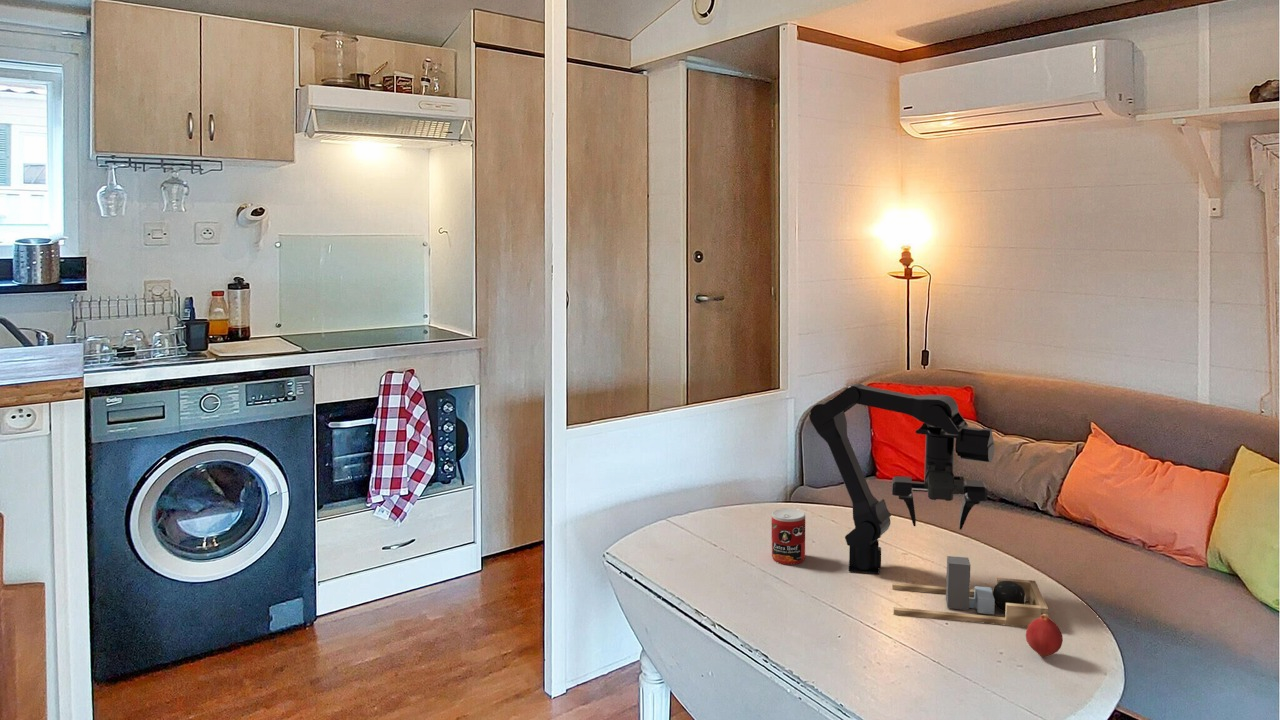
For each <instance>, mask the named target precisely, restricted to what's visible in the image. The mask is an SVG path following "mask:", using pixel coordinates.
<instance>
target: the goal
mask: <svg viewBox="0 0 1280 720" xmlns="http://www.w3.org/2000/svg"><path fill="white" fill-rule="evenodd" d="M1001 581H1013V582H1016V583H1017V584H1019V585H1020V586H1021V587H1022V588H1023V590H1024V592H1025V596H1026V600H1025V602H1029V604H1015V603H1006V610H1005V611H1004V612H1005V614H1004V615H1005V616H1004V617H1005V618H1006V625H1005V626H1009V625H1013V627H1019V626H1024V627H1023V628H1028V626H1029V624H1030V623H1031V622H1032V621H1034V620H1035V619H1037V618H1040V617H1041V615H1042V614H1046V615H1048V616H1049V608H1048V605H1047V604H1046V601H1045V599H1044V596H1043V595H1042V593H1041V591H1040V588H1039V587H1038V584H1037V582H1036V580H1031V579H1030V580H1029V579H1028V580H1027V579H1017V578H1005V577H996V584H997V583H999V582H1001Z"/></svg>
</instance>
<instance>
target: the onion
mask: <svg viewBox="0 0 1280 720" xmlns="http://www.w3.org/2000/svg"><path fill="white" fill-rule="evenodd" d="M1026 628H1027V629H1026V632H1025V639H1026V641H1027V643H1028V645H1029V647H1030V648H1031V649H1032V650H1033V651H1034V652H1036V653H1037V654H1038V656H1039V657H1041V658H1048V657H1050V656H1052V655H1054V654H1056V653H1057V652H1059V650H1061V647H1062V645H1063V639H1064V638H1063V633H1062V631H1061V628H1060V627H1059V625H1057V624H1056V622H1055V621H1054V620H1052V619H1051V618H1050V617H1049V614H1048V615H1046V614H1042V615H1041V617H1040V618H1037V619H1035V620H1034V621H1032V622H1031V623H1030V624H1029V626H1028V627H1026Z"/></svg>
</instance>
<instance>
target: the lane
mask: <svg viewBox="0 0 1280 720" xmlns="http://www.w3.org/2000/svg"><path fill="white" fill-rule="evenodd" d="M891 584H892V585H891V587H892V589H891V590H895V591H907V592H918V593H919V592H920V593H928V594H929V593H930V594H939V595H941V594H942V595H946V586H937V585H936V586H935V585H925V584H924V585H922V584H914V583H913V584H912V583H902V582H901V583H899V582H892V583H891ZM974 591H975V589H972V588H970V594H969V597H973V598H974ZM992 593H993V590H992ZM893 615H895V616H896V615H897V616H905V617H914V618H915V617H916V618H926V619H927V618H928V619H937V620H946V619H947V620H948V621H956V620H961V621H960V622H967V621H971V623H977V622H984V623H983V624H988V623H994V624H993V625H998V624H1005V625H1004V626H1007V625H1006V618H1005V616H993V615H982V614H974V613H973V614H972V613H971V614H970V613H961V612H951V611H950V612H949V611H939V610H938V611H937V610H928V609H918V608H906V607H896V606H894V607H893Z"/></svg>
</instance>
